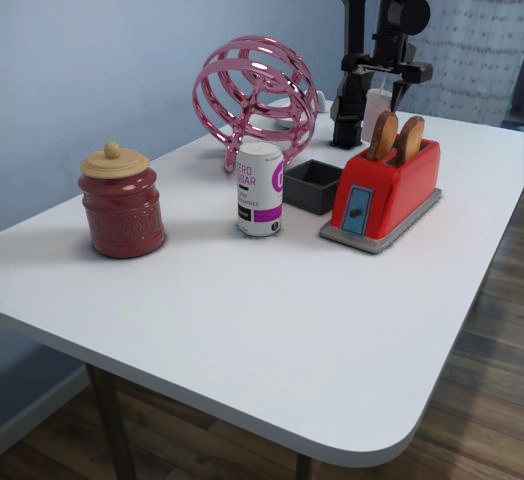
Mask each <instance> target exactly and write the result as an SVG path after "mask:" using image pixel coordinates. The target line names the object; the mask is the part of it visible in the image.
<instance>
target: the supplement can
mask: <svg viewBox="0 0 524 480" xmlns="http://www.w3.org/2000/svg"><path fill="white" fill-rule="evenodd" d="M281 151H282V150H281V146H280V145H279V143H278V144H277V143H275V142H274V141H266V140H252V141H247V142H244V143H243V144H242V145H241V146H240V149H239V151H238V153H237V155H236V157H235V159H236V162H235V163H236V189H237V191H236V194H237V223H238V228H239V229H240V230H241V231H242V232H243V233H245V234H246V235H249V236H251V237H268V236H272V235H274V234H276V233H277V232H278V231H279V230H280V229H281V227H282V220H283V219H282V217H283V201H282V190H283V171H284V169H283V162H284V160H283V154H282V152H281Z"/></svg>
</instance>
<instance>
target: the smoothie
mask: <svg viewBox="0 0 524 480" xmlns="http://www.w3.org/2000/svg"><path fill="white" fill-rule="evenodd" d="M388 74H389V73H388V72H387V71H385V72H384V75H383V78H382V81H381V84H380V86H379V87H380V88H371V89H369V90H368V92H367V95H366V96H367V102H366V108H365V114H364V120H363V121H362V125H361V127H362V132H361V141H362V142H366V143H369V144H370V143H371V140H372V136H373V131H374V128H375V124H376V121H377V119H378V117H379V115H380V114H381V113H382V112H383V111H390V112H391V110H390V109H391V99H392V92H391V91H389V90H386V89H384V87H385V83H386V80H387V77H388Z"/></svg>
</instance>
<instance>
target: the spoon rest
mask: <svg viewBox="0 0 524 480" xmlns="http://www.w3.org/2000/svg"><path fill="white" fill-rule="evenodd" d="M316 91H317V96H318V112H327V101H326V97H325V95H324V92H322V91H321V90H316ZM303 92H304V94H306V92H307V89H305V90H304V91H303ZM310 104H311V106H312V108H313V111H314V99H312V101H311V103H310ZM289 105H290V100H288V101H287V102H285V103H284V104H282V105H280V106H279V107H287V106H289ZM274 120H275V122H276V123H277V124H278V125H280V126H281V127H283V128H286V129H287V130H290V129H291V128H292V127H293V120H292V118H285V119H274ZM307 121H308V119H307V117H306V114H305V112H303V113H302V115H301V123H302V124H304V123H306V122H307Z"/></svg>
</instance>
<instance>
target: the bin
mask: <svg viewBox="0 0 524 480" xmlns="http://www.w3.org/2000/svg"><path fill="white" fill-rule="evenodd" d="M343 169H344V167H339V166H336V165H333V164H330V163H326V162H323V161H320V160H317V159H314V158H310V159H308V160H306V161H304V162H301V163H299V164H297V165H295V166H292V167H290V168H288V169H286V170H283V190H282V202H285V203H286V204H287V203H288V204H290V205H293V206H295V207H298V208H301V209H304V210H306V211H309V212H311V213H314V214H316V215H318V216H321V215H324V214H325V213H327V212H329V211H331V210H333V206H334V201H335V196H336V192H337V188H338V184H339V180H340V176H341V174H342V172H343Z"/></svg>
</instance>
